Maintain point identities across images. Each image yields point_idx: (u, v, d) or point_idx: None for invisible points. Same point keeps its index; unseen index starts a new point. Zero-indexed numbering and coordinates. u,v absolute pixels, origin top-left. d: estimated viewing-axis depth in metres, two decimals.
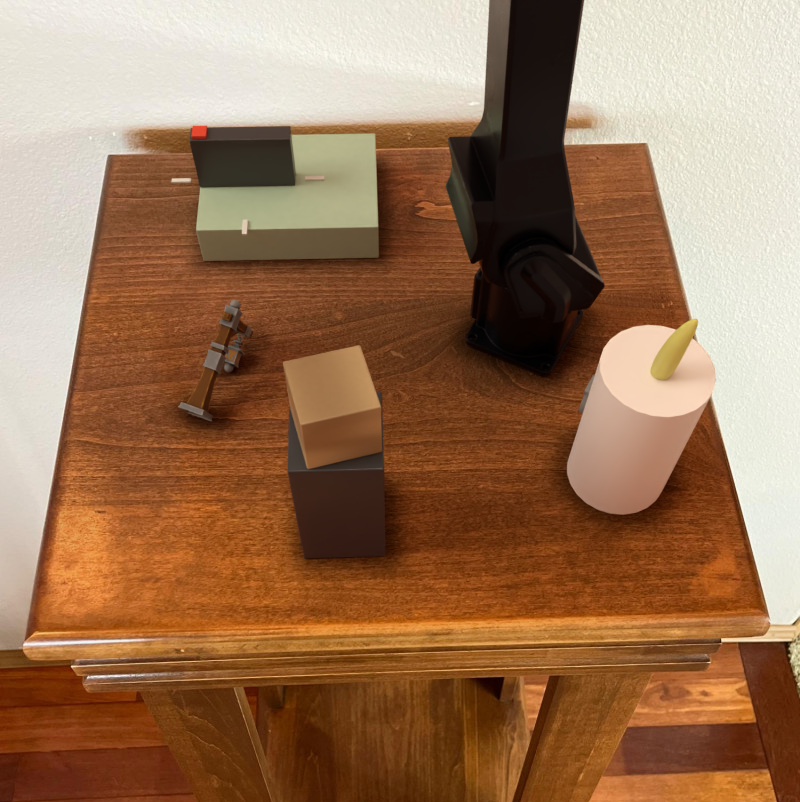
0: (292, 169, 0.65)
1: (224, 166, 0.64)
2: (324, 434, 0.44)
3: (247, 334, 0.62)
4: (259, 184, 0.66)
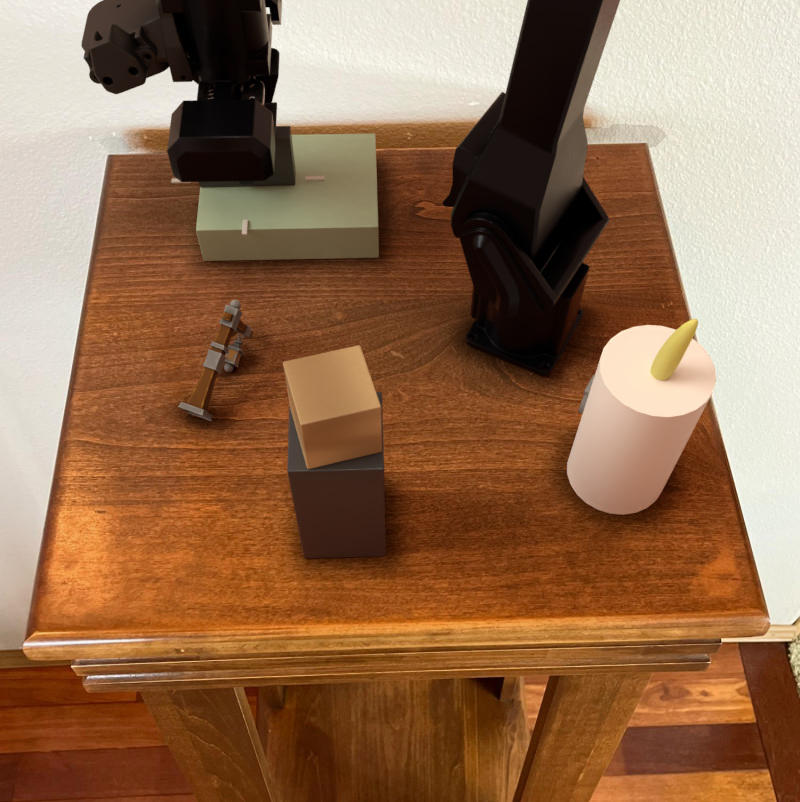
0: (292, 169, 0.65)
1: None
2: (324, 434, 0.44)
3: (247, 334, 0.62)
4: (259, 184, 0.66)
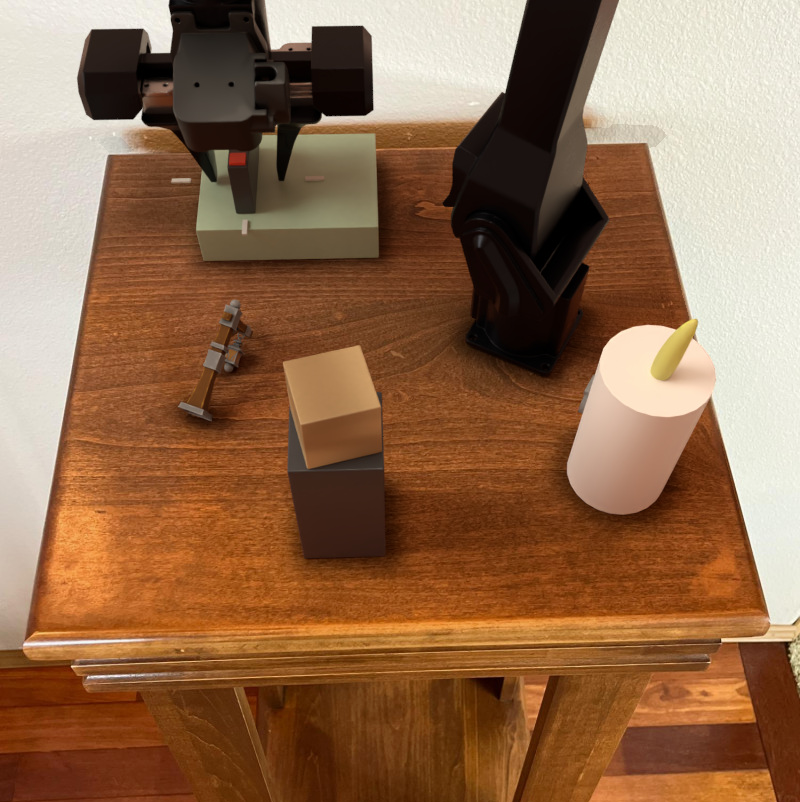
0: None
1: (253, 172, 0.64)
2: (324, 434, 0.44)
3: (247, 334, 0.62)
4: None
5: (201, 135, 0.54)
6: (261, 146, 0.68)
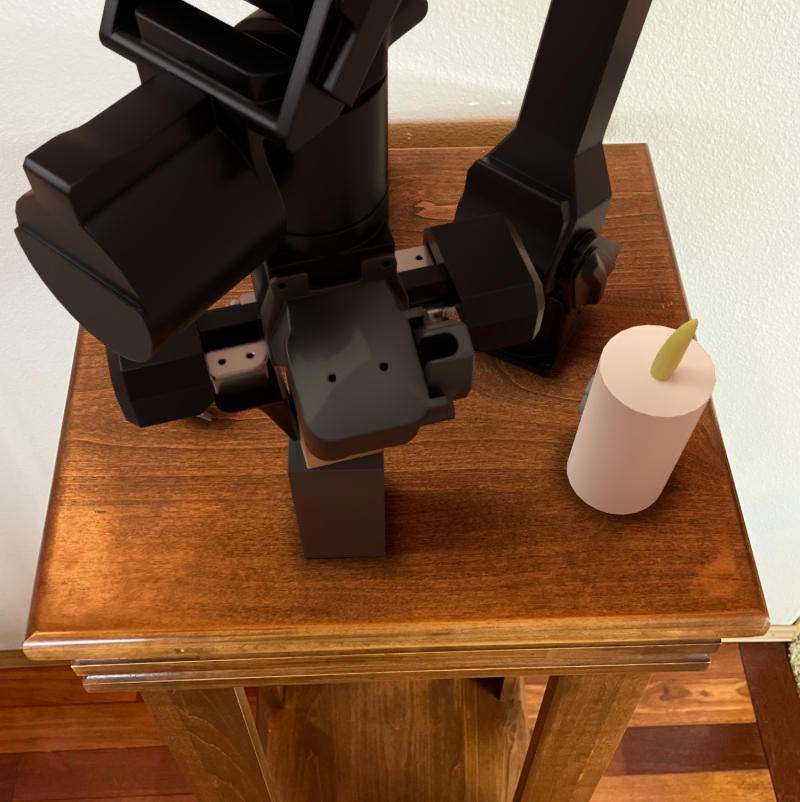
0: None
1: None
2: None
3: None
4: None
5: (347, 447, 0.34)
6: None
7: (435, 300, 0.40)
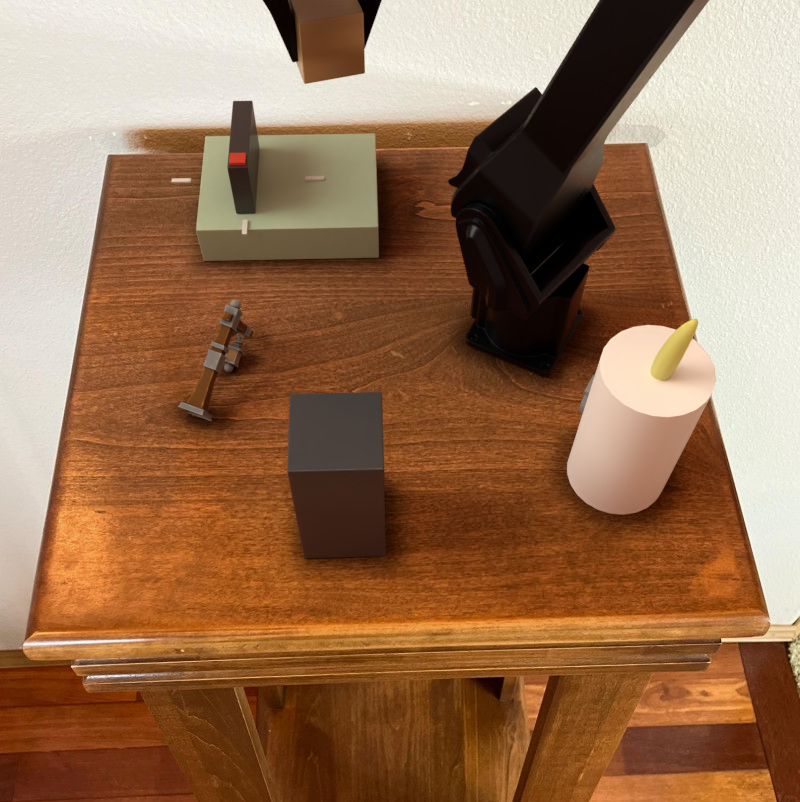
0: (256, 132, 0.67)
1: (253, 172, 0.64)
2: (318, 40, 0.55)
3: (247, 334, 0.62)
4: None
5: None
6: (261, 146, 0.68)
7: None
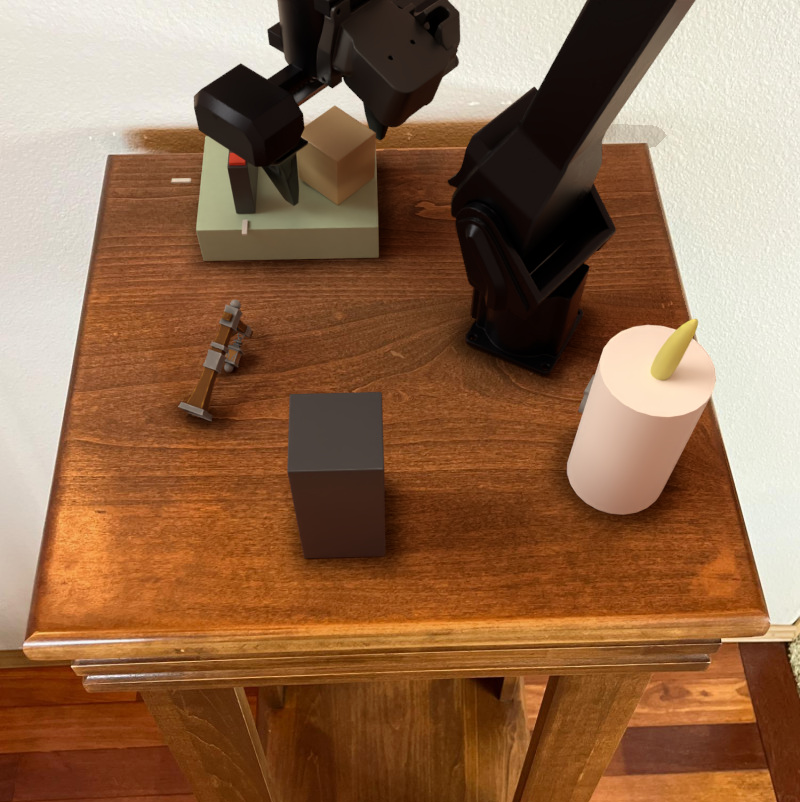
0: None
1: (253, 172, 0.64)
2: (348, 168, 0.63)
3: (247, 334, 0.62)
4: None
5: (413, 101, 0.54)
6: None
7: None
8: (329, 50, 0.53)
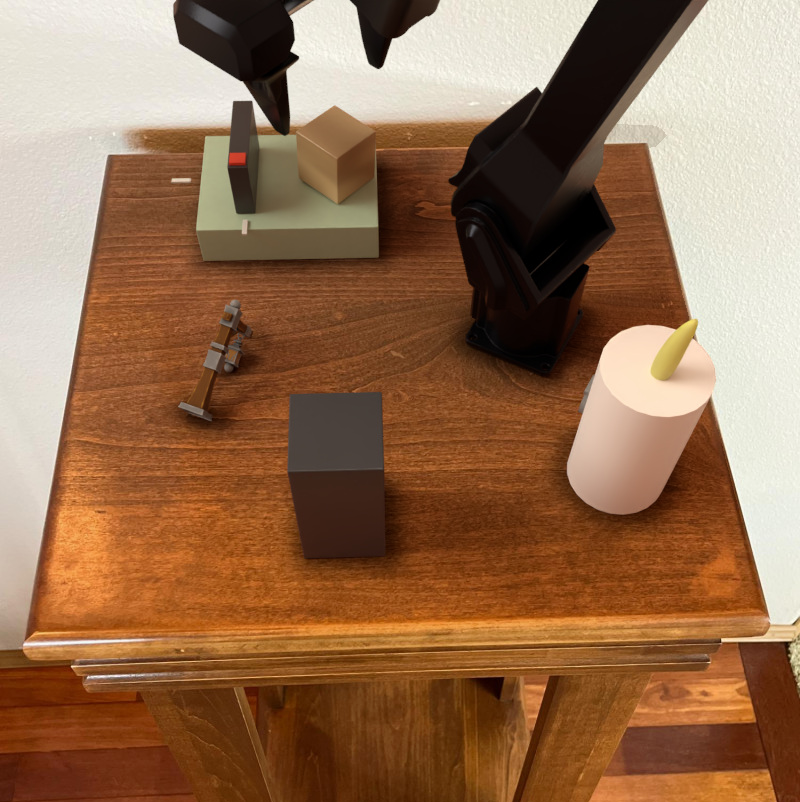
0: (256, 132, 0.67)
1: (253, 172, 0.64)
2: (348, 165, 0.63)
3: (247, 334, 0.62)
4: None
5: (415, 8, 0.49)
6: (261, 146, 0.68)
7: None
8: None
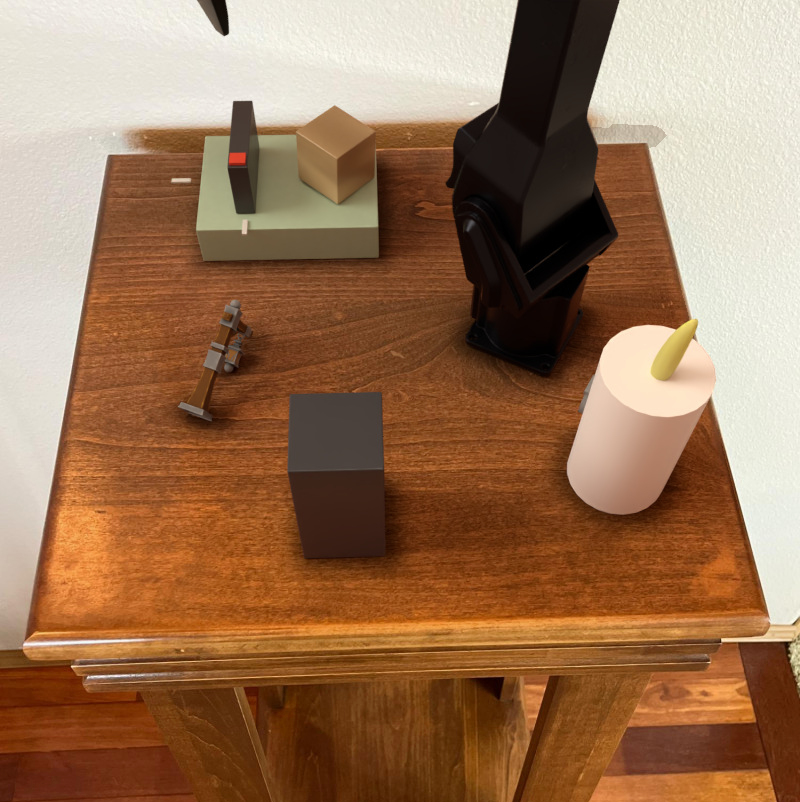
0: (256, 132, 0.67)
1: (253, 172, 0.64)
2: (348, 165, 0.63)
3: (247, 334, 0.62)
4: None
5: None
6: (261, 146, 0.68)
7: None
8: None
